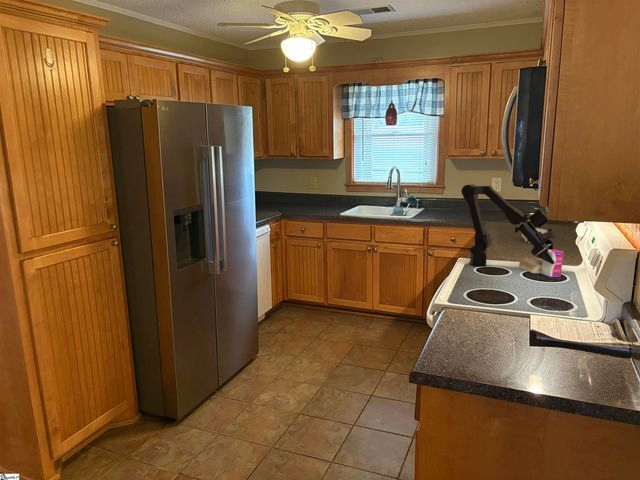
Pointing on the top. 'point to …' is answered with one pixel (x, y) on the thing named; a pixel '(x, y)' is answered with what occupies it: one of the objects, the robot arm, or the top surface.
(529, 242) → the paper bowls
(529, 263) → the block
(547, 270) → the supplement box
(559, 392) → the top surface
